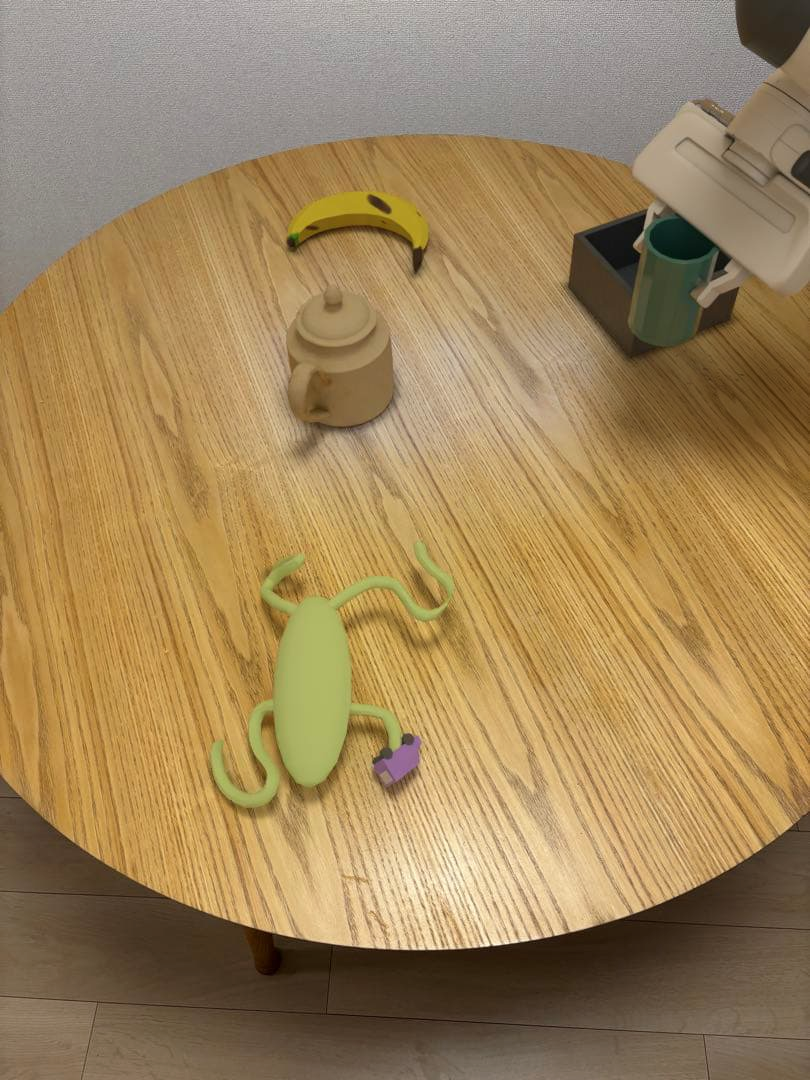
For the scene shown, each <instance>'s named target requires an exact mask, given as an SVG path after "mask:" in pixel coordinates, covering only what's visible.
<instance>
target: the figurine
mask: <svg viewBox="0 0 810 1080" xmlns="http://www.w3.org/2000/svg"><path fill="white" fill-rule="evenodd" d="M413 549H414V554H415V557H416V560H417V561H418V563H419V564H420V565H421V567H423V569H424V570H425V571H426V572H427V574H429V576H431V578H434V579H435V580H436V581H437V582H438V583H439V584H440V585H441V586H442V587H443V588H444V589H445V593H446V597H447V598H446V599H445V601H444V602H443V603H442V604H440V606H438V607H436V608H432V609H426V608H423V607H421V606H419V605H418V603H417V602H416V601H415V600H414V599H413V597H412V596H411V594H410V592H409V591H408V589H407V588H406V587H405V586H404V585H405V584H403V583H402V582H401V581H400V580H398V579H397V578H396V577H391V576H387V575H375V574H374V575H370V576H367V577H364V578H361V579H359V580H357V581H355V582H353V583H352V584H350V585H348V586H347V587H346V588H344V589H342V590H341V591H339V592H338V593H336V594H335V595H334V596H333V597H332V598H330V599H328V598H326V597H323V596H320V595H317V594H312V595H310V596H308V597H306V598H303V599H302V600H301V601H300V602H299V603H298V604H297V603H295V602H292V601H289V600H287V599H284V598H282V597H281V596H280V595H278V594H277V593H275V591H274V590H275V588H276V586H278V584H279V583H280V582H281V581H282V580H283V579H284V578H285V577H286V576H288V575H290V574H292V573H293V572H295V571H297V570H298V569H300V568H301V567H302V566H304V565H305V564H306V562H307V558H306V556H305V555H304V554H302V553H294V554H291V555H287V556H285V557H282V558H281V559H279V560H277V562H275V563H274V564H273V566H271V569H270V573H269V574H268V576H267V577H266V578H265V580H264V581H263V583H262V584H261V586H260V587H259V594H260V598H262V600H264V601H265V602H266V603H267V604H268V605H269V606H270V607H272V608H273V609H275V610H276V611H278V612H279V613H283V614H285V615H288V616H289V617H288V619H287V623H286V625H285V628H284V630H283V633H282V636H281V639H280V641H279V646H278V650H277V656H276V661H275V667H274V672H273V691H272V692H273V693H272V694H273V695H272V698H269V699H265V700H261V701H260V702H259V703H258V704H257V705H256V706H255V707H254V708H253V709H252V710H251V713H250V715H249V718H248V720H247V721H248V722H247V736H248V742H249V746H250V748H251V750H252V752H253V754H254V755H255V757H256V758H257V760H258V761H259V762H260V764H261V765H262V766H263V768H264V769H265V772H266V780H265V784H264V786H262V789H261V790H258V791H256V792H245V791H242V790H241V789H239V788H238V787H236V786H235V785H234V783H233V782H232V781H231V780H230V777H229V776H228V775H229V774H228V773H227V771H226V767H225V763H224V757H223V755H224V754H223V749H224V744H225V740H224V739H217V740H216V741H214V742H213V743H212V744H211V746H210V752H209V761H210V769H211V768H212V769H211V773H212V776H213V779H214V781H215V784H216V785H217V787H218V789H219V791H220V792H221V794H223V795H224V796H225V795H226V796H225V798H226V799H227V800H229V801H230V802H231V803H233V804H235V805H237V806H239V807H242V808H244V809H245V808H257V807H260V806H264V805H266V804H269V803H270V802H271V800H272V799H273V798H274V797H275V796H276V794H277V792H278V788H279V785H280V780H281V778H280V775H279V770H278V768H277V766H276V764H275V763H274V761H273V759H272V758H271V756H270V754H269V752H268V751H267V749H266V747H265V745H264V741H263V736H262V723H263V720H264V718H265V716H266V715H268V714H269V713H273V721H274V731H275V738H276V743H277V746H278V749H279V752H280V756H281V759H282V762H283V765H284V767H285V769H286V770H287V771H288V773H289V775H290V776H291V778H292V779H293V780H294V782H295V783H296V784H299V785H301V786H304V787H306V788H309V789H311V788H314V787H315V786H317V785H319V784H322V783H323V782H324V781H326V779H327V777H328V776H329V774H330V773H331V771H332V770H333V768H335V765H336V764H337V763H338V760H339V757H340V754H341V751H342V748H343V745H344V742H345V739H346V736H347V732H348V725H349V719H350V716H356V717H357V716H358V717H359V716H360V717H361V716H363V717H372V718H375V719H379V720H380V721H381V722H382V724H383V725H384V727H385V729H386V732H387V734H388V746H387V747H383V748H381V749H380V751H379V755H377V756H375V757H373V758H372V760H371V764H372V765H371V766H370V767H371V769H373V771H374V772H375V773H376V775H377V777H378V778H379V779H380V780H381V782H382V783H383V785H384V787H385V788H387V787H389V786H392V785H394V784H395V783H397V782H399V781H400V780H401V779H403V777H405V776H406V775H407V774H408V773H410V772H411V771H412V770H413V769H414V768H416V767H417V766H418V765H419V764H421V760H420V754H419V749H420V747H421V745H422V743H423V742H422V739H421V738H420V736H419V734H417V735H415V736H414V735H413V734H412V733H410V732H408V733H404V734H403V735H402V728H401V725H400V723H399V720H398V718H397V717H396V716H395V714H394V713H393V712H392V710H390V709H387V708H386V707H382V706H380V705H376V704H375V705H374V704H370V703H358V702H353V701H352V661H351V656H350V655H351V654H350V648H349V643H348V642H349V641H348V635H347V633H346V631H345V627H344V625H343V622H342V619H341V618H340V614H339V612H338V610H339V609H340V608H342V607H343V606H345V605H346V604H347V603H349V602H350V601H352V600H353V599H354V598H357V597H358V596H359V595H361V594H363V593H364V592H367V591H370V590H372V589H380V590H381V589H382V590H388V591H392V592H393V593H394V594H395V595H396V596H397V597H398V599H399V601H401V603H402V605H403V606H404V608H405V609H406V611H407V612H408V614H409V615H411V616H412V618H414V619H415V620H416V621H419V622H422V623H428V622H432V621H435V620H437V618H439V617H440V616H441V615H442V614H443V613H444V611H445V609H446V608H447V606H448V604H449V603H450V600H451V599H452V596H453V594H454V592H455V590H456V587H455V581H454V578H453V577H452V576H451V575H450V574H449V573H448V572H446V571H445V570H443V569H441V568H440V566H438V565H437V564H436V563H435V562H434V561H433V560H432V558H431V557H430V555H429V552H428V550H427V546H426V543H425V542H423V541H416V542H414V543H413ZM212 771H213V772H212ZM214 775H215V776H214ZM215 777H216V778H215ZM227 797H228V798H227ZM231 800H232V801H231ZM236 803H237V804H236Z"/></svg>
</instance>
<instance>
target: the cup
mask: <svg viewBox="0 0 810 1080" xmlns="http://www.w3.org/2000/svg"><path fill="white" fill-rule="evenodd" d="M719 249H720V248H719V247H718V246H717V245H716V244H714V243H713V242H712V241H711V240H709V239H708V238H707V237H706V236H704V235H703V234H702V233H701V232H699V231H698V230H697V229H696V228H695V227H693V226H692V225H691V224H690V223H688V222H687V221H686V220H685V219H683V218H682V217H681V216H680V215H670V216H664V217H661V218H659V219H657V220H655V221H653V222H651V224H650V225H649V226H648V227H647V228H646V229H645V232H644V238H643V243H642V248H641V253H640V259H639V264H638V269H637V274H636V280H635V285H634V290H633V295H632V301H631V306H630V312H629V317H628V323H629V327H630V329H631V331H632V332H633V333H634V334H635V335H636V336H637V337H638V338H639V339H641V340H642V341H644V342H646V343H649V344H652V345H655V346H658V347H662V348H663V347H664V348H669V347H676V346H681V345H683V344H685V343H687V342H689V341H690V340H691V339H693V337H695V335H696V333H697V332H698V331H697V328H698V326H699V323H700V319H701V315H702V312H703V308H704V307H703V306H701V305H700V304H699V303H698V302H696V301H695V300H694V299H693V298H692V297H691V296H690V292H691V291H692V289H694V288H696V285H697V284H698V283H699V282H700V281H701V279H703V280H704V281H706V282H707V283H709V282H711V278H712V275H713V271H714V267H715V263H716V260H717V256H718V252H719ZM696 331H697V332H696Z"/></svg>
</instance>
